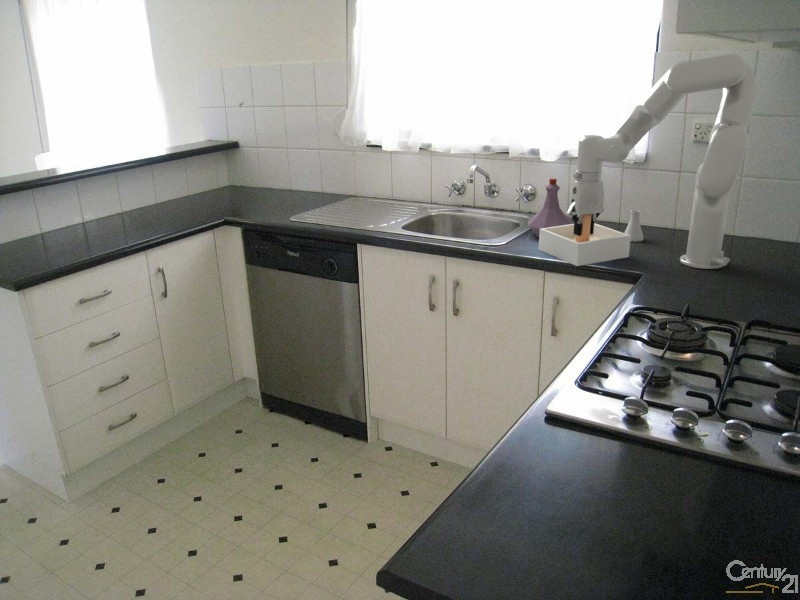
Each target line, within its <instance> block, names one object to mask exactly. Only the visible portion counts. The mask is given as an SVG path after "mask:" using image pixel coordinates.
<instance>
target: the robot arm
mask: <svg viewBox="0 0 800 600" xmlns="http://www.w3.org/2000/svg"><path fill="white" fill-rule="evenodd" d="M713 90H722V95H721V100H720V104H719V108H718V111H717V115H716V117H715V121H714V123H713V126H712V129H711V131H710V132H709V133H710V134H709V136H708V137H709V138H708V146H707V150H706V153H705V156H704V160H703V161H702V163H700V164H699V166H698V168H697V170H696V174H695V183H694V193H693V202H692V209H691V215H690V224H689V229H688V238H687V239H688V240H687V245H686V253H685V254H683V255H681V256H680V257H679V262H680V263H681V264H683V266H687V267H691V268H696V269H704V270H714V269H715V270H716V269H720V268H724V267H725V266H728V263H730V261H731V259H730V258H729V257H726V256H724V255H725V251H724V250H722V248H723V241H724V237H725V236H724V235H725V229H726V222H727V216H728V210H729V203H730V196H731V191H732V189H733V188H734V186H735V183H736V181H737V178H738V175H739V173H740V171H741V167H742V165H743V161H744V159H745V156H746V153H747V149H748V145H749V134H748V132H747V130H748V126H749V124H750V120H751V117H752V114H753V109H754V107H755V104H756V98H757V94H758V93H757V92H758V83H757V78H756V76H755V73H754V70H753V69H752V67H751V66H750V65H749V63H747V61H746V60H745V58H744V57H743V56H741V55H739V54H737V53H735V52H723V53H722V54H720V55H717V56H711V57H705V58H700V59H694V60H679V61H677V62H675V63H673V64H672V65H671V66H669V68H668V69H667V71H665V73H664V74H663V75H662V76H661V77H660V78H659V79H658V80H657V82H656V83H655V84H654V85H653V87H651V88H650V89H649V91H648V92H646V94H645V95H644V96H643V98H641V100H640V101H639V102H638V103H637V105H636V106H635V108H633V110H632V112H631V113H630V114H629V115H628V117H627V118H626V119H625V120H624V121H623V122H622V124H621V125H620V126H618V128H616V130H615V131H614V132H613V134H611V136H610V137H608V138H607V137H606V138H605V137H603V136H601V135H596V134H595V135H594V134H593V135H592V134H587V135H582V136H581V137H580V138H579V140H578V145H577V146H578V148H577V161H576V169H575V170H576V171H575V173H574V174H573V179H575V180H574V181H573V184H572V187H571V192H570V198H569V199H570V200H569V208H568V210H567V211H566V213H565V215H566V216H567V217H568V218H570V220H572V223H573V224H574V234H575V235H578V236H581V234H582V223H581V220H582V216H583V215H585V214H592V216H591V226H590V234H593V231H594V223H595V222H597V219H598V217H599V216H600V215H601V214H602V213H603V212H605V208H604V202H605V201H604V200H605V187H604V181H603V180H602V173H603V172H602V170H603V162H607V163H612V164H618V163H622V162H623V161H625V160H626V159H627V158H628V156H629V154H630V152H631V151H632V150H633V149H634V147H636V145H637V144H638V143H639V142H640V141H641V140H642V139H643V138H644V137H645V135H647V133H649V131H651V129H653V128H654V127H656V126H658V125H659V124H660V123H661V122H662V121H663V120H664V119H666V117H667V116H668V115H670V113H671V112H672V110H674V108H675V107H676V106H677V105H678V104H679V103H680V102H681V101H682V100H683V98H685V97H686V95H687V94H695V93H696V94H697V93H701V92H702V93H703V92H707V91H713Z"/></svg>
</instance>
